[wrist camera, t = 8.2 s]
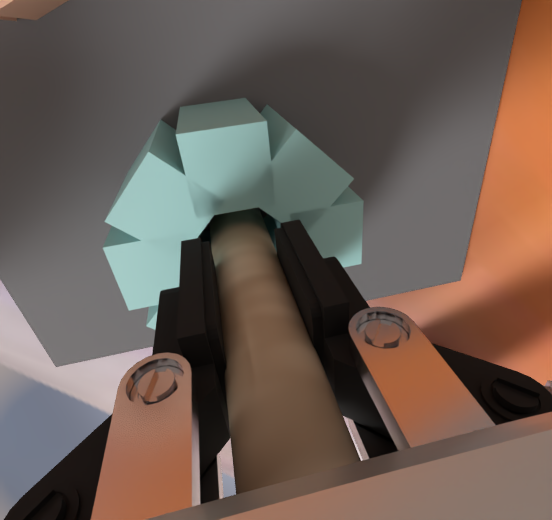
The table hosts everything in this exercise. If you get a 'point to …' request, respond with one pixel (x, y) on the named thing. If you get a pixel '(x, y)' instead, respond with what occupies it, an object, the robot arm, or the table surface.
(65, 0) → the bead small
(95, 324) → the mat
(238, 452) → the tan wooden dowel
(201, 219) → the pale teal gear
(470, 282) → the table surface
